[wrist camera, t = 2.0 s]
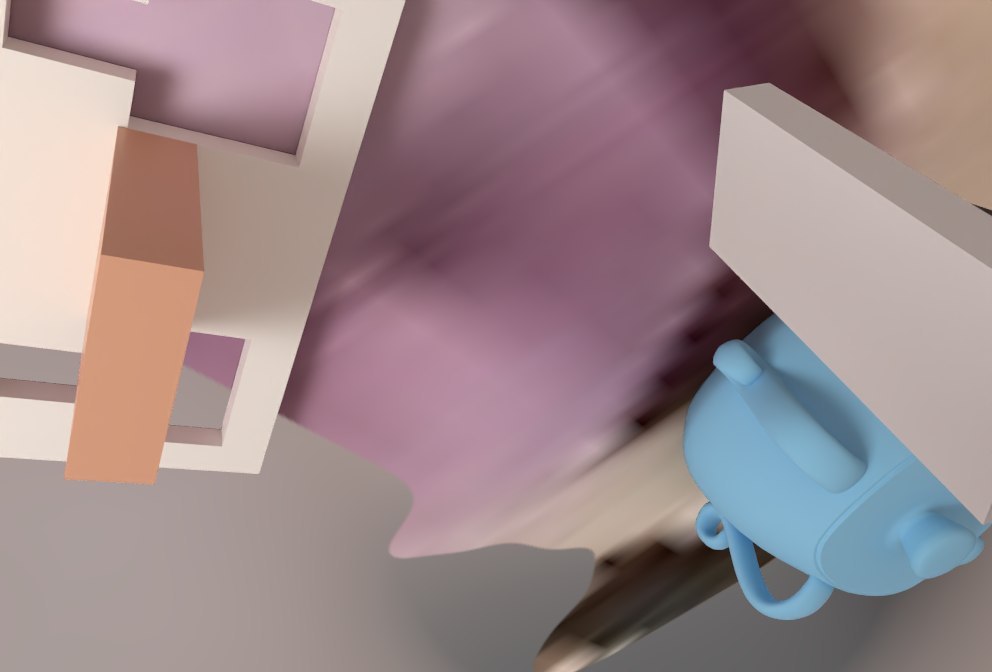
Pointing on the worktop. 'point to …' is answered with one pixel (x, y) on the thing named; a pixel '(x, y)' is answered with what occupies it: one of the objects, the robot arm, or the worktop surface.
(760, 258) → the robot arm
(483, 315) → the worktop surface
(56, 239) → the keyhole plate
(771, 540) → the decorative pot
